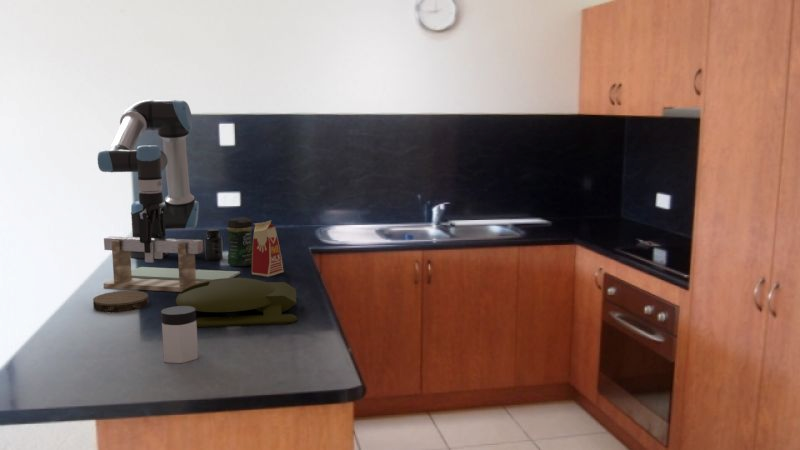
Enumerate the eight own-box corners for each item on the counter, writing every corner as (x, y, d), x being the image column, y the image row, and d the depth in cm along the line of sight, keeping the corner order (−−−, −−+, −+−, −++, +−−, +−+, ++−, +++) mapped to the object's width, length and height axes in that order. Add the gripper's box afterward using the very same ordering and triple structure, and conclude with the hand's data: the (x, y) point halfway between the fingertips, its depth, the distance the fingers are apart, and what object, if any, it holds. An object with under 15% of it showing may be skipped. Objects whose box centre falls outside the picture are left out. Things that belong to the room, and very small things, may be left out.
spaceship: (295, 298, 238) (295, 268, 236) (297, 325, 208) (296, 291, 206) (184, 302, 232) (182, 271, 231) (168, 330, 202) (167, 296, 201)
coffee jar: (239, 268, 280) (238, 220, 277) (224, 265, 284) (223, 218, 281) (257, 263, 288) (255, 216, 285) (242, 261, 292) (240, 215, 289)
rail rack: (103, 287, 249) (100, 241, 246) (118, 281, 258) (116, 236, 255) (194, 292, 243) (192, 244, 240) (206, 286, 251) (204, 240, 249)
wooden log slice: (90, 315, 217) (89, 305, 216) (96, 301, 232) (96, 292, 231) (147, 311, 221) (146, 301, 221) (150, 298, 236) (149, 289, 236)
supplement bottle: (225, 257, 300) (224, 228, 298) (219, 261, 293) (218, 231, 291) (208, 257, 300) (207, 228, 299) (202, 260, 294) (201, 231, 292)
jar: (186, 349, 185) (184, 303, 183) (206, 356, 180) (204, 309, 178) (154, 358, 178) (152, 310, 176) (174, 366, 173) (171, 317, 171)
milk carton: (283, 271, 274) (282, 218, 271) (269, 276, 266) (267, 222, 263) (263, 269, 278) (261, 217, 275) (248, 274, 270) (246, 220, 266)
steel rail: (104, 250, 249) (103, 238, 249) (111, 247, 253) (110, 236, 253) (197, 253, 243) (197, 242, 242) (203, 251, 247) (202, 240, 246)
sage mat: (119, 277, 264) (119, 274, 264) (140, 268, 278) (140, 266, 278) (224, 282, 257) (223, 280, 257) (240, 273, 271) (240, 271, 270)
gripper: (146, 195, 235) (150, 266, 239) (174, 189, 253) (177, 255, 257) (125, 194, 237) (129, 265, 240) (154, 188, 255) (157, 254, 258)
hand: (154, 260), depth 249 cm, fingers open, 5 cm apart
